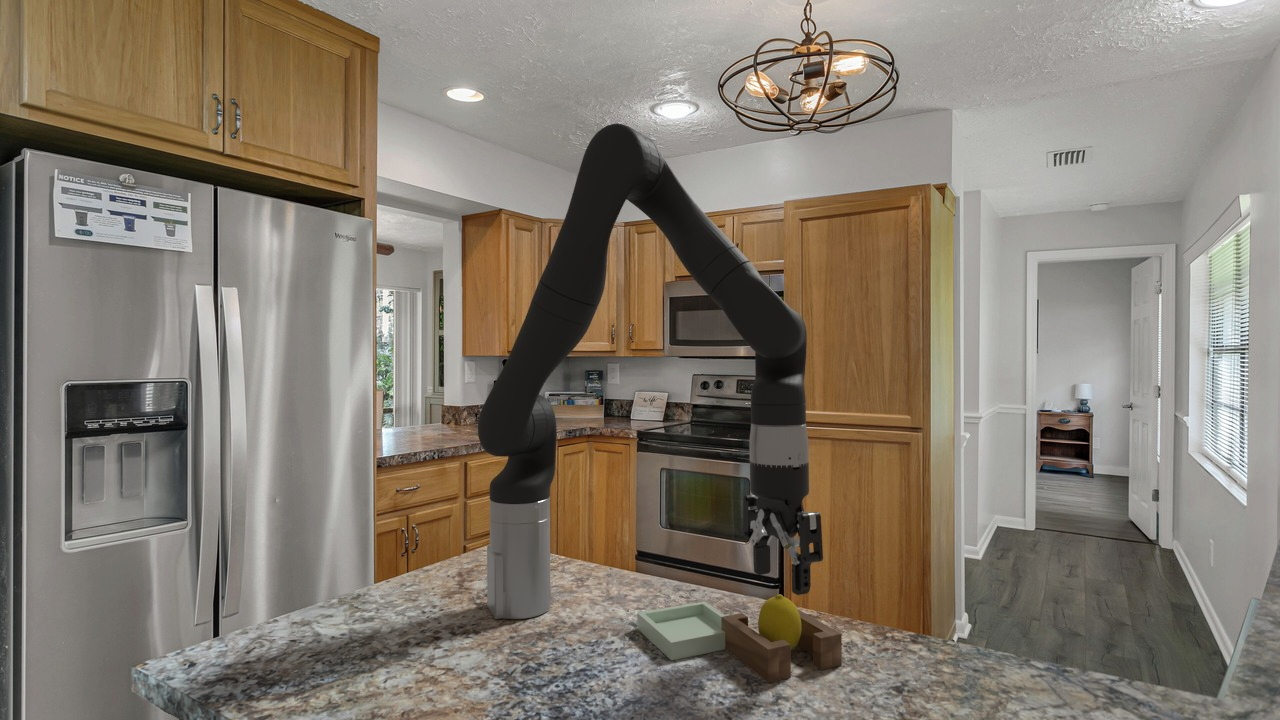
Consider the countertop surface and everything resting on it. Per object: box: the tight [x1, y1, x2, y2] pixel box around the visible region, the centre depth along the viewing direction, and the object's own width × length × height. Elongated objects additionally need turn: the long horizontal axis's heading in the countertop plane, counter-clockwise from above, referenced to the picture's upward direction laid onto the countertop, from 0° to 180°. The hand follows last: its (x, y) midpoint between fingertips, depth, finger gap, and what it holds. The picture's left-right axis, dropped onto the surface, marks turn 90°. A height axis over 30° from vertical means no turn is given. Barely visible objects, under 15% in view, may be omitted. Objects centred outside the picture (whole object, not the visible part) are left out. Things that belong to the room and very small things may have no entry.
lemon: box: [757, 593, 801, 651], centre depth 88 cm, size 6×6×8 cm
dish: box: [636, 601, 727, 661], centre depth 94 cm, size 11×11×2 cm
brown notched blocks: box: [721, 609, 843, 683], centre depth 88 cm, size 11×11×4 cm
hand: (780, 583), depth 88 cm, fingers open, 8 cm apart
